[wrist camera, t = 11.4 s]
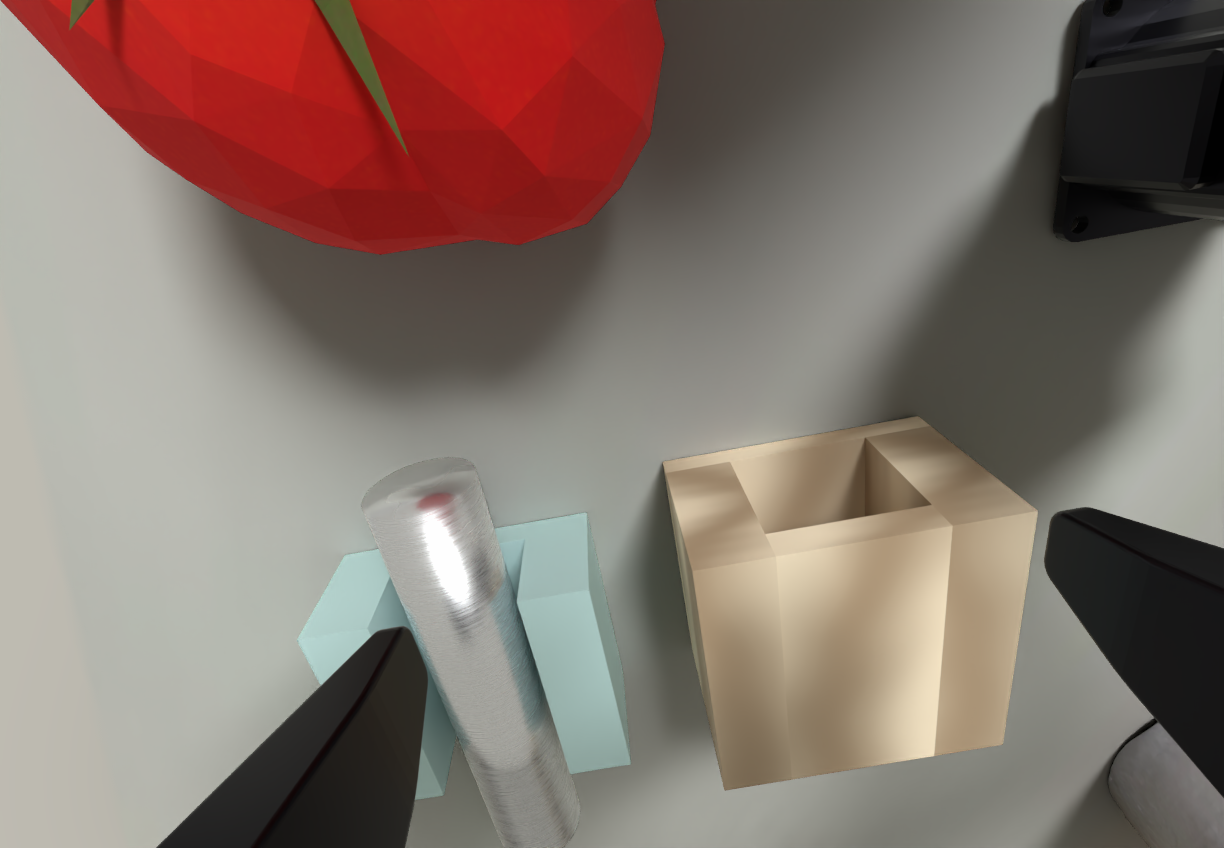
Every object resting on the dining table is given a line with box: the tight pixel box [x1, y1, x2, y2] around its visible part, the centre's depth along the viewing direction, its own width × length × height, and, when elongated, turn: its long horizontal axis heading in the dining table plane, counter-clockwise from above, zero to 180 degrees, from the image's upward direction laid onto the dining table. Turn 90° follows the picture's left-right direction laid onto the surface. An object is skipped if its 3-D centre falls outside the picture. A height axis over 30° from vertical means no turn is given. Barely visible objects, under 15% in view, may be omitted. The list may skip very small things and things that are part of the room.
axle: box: [361, 458, 580, 848], centre depth 21 cm, size 16×3×3 cm, turn 10°
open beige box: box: [663, 416, 1038, 790], centre depth 20 cm, size 9×9×6 cm
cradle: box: [297, 512, 631, 800], centre depth 22 cm, size 9×8×4 cm
